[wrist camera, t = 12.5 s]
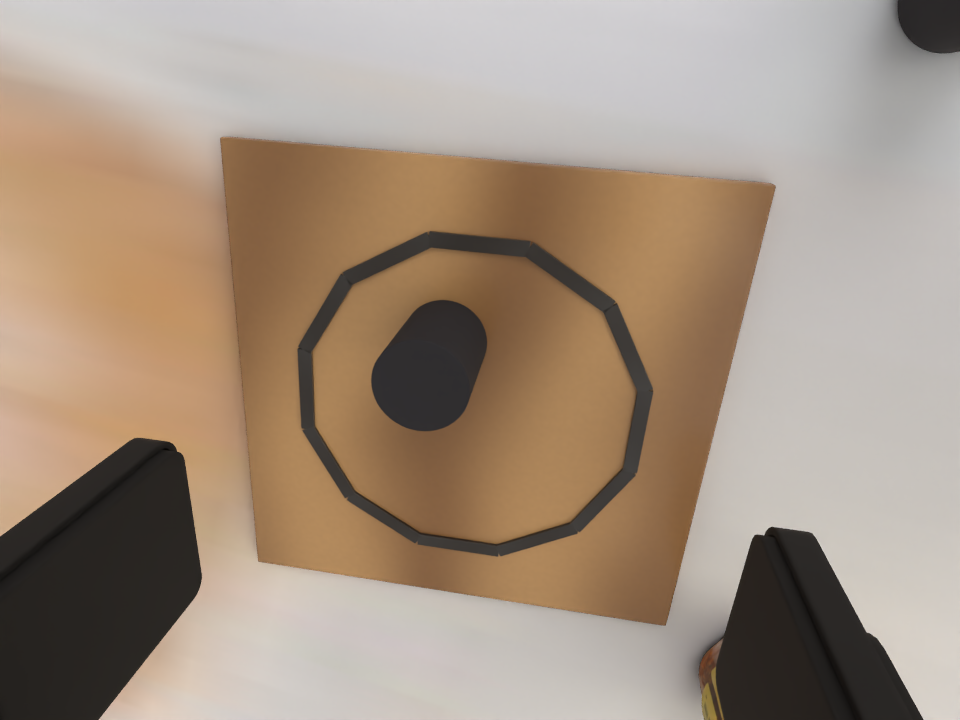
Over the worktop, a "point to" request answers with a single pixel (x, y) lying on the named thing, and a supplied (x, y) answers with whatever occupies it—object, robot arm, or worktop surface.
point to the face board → (487, 366)
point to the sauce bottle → (710, 684)
